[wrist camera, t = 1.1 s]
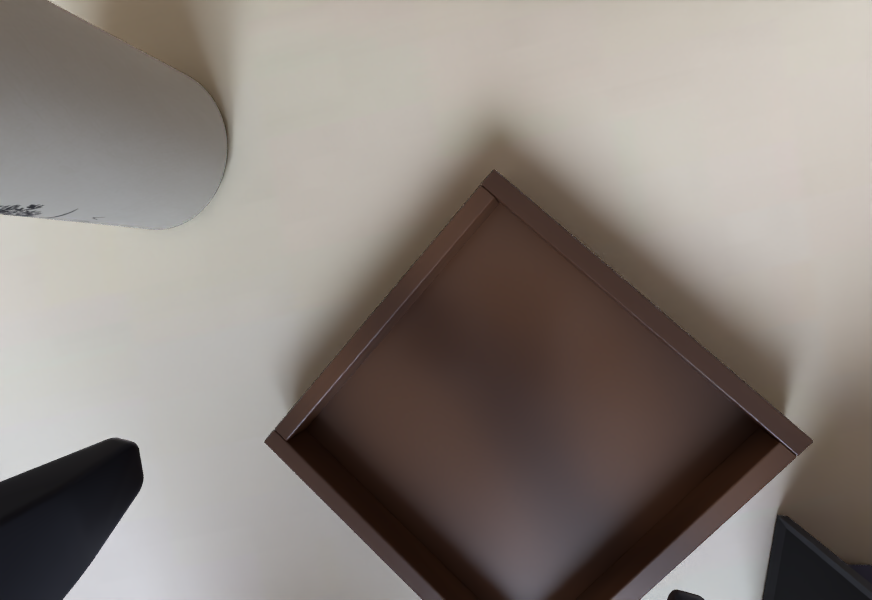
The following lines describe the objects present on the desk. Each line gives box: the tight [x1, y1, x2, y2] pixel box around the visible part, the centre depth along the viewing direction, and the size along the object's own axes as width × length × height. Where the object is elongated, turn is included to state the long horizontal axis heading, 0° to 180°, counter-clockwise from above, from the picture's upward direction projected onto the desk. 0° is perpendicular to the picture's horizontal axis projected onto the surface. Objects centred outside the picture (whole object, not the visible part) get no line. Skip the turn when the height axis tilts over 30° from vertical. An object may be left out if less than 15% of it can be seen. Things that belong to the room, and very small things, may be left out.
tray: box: [265, 170, 813, 600], centre depth 23 cm, size 16×16×3 cm
